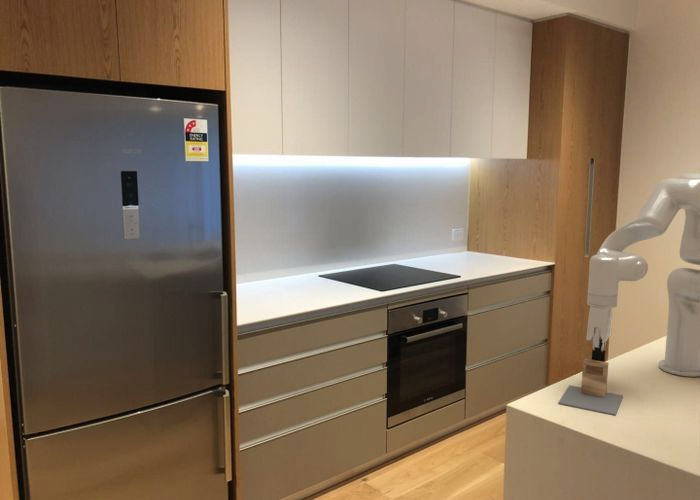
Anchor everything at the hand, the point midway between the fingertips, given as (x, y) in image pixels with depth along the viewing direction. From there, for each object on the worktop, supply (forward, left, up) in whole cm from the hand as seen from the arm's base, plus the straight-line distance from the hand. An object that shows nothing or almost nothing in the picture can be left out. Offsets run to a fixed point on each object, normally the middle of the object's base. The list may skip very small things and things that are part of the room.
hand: (598, 363), depth 164 cm
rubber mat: (+9, 0, -8) cm, 12 cm away
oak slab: (+5, 0, -7) cm, 9 cm away
